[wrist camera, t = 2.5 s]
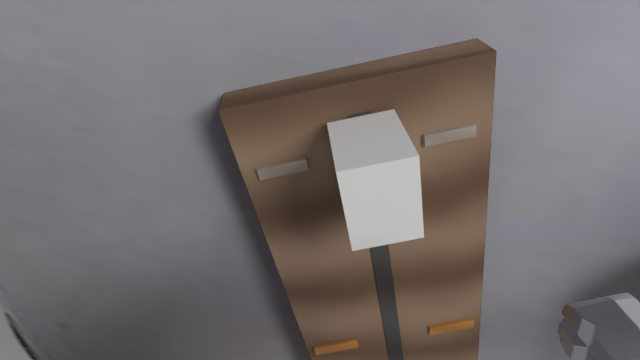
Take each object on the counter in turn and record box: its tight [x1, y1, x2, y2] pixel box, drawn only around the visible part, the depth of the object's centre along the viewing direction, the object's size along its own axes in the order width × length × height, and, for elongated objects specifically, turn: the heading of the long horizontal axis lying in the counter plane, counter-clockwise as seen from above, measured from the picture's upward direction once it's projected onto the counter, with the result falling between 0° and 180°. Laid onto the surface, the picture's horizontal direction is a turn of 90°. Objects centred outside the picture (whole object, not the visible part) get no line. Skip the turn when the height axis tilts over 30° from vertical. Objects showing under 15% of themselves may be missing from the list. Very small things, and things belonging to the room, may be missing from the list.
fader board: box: [218, 39, 496, 360], centre depth 24 cm, size 25×12×2 cm, turn 11°
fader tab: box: [327, 109, 424, 251], centre depth 17 cm, size 4×3×4 cm
